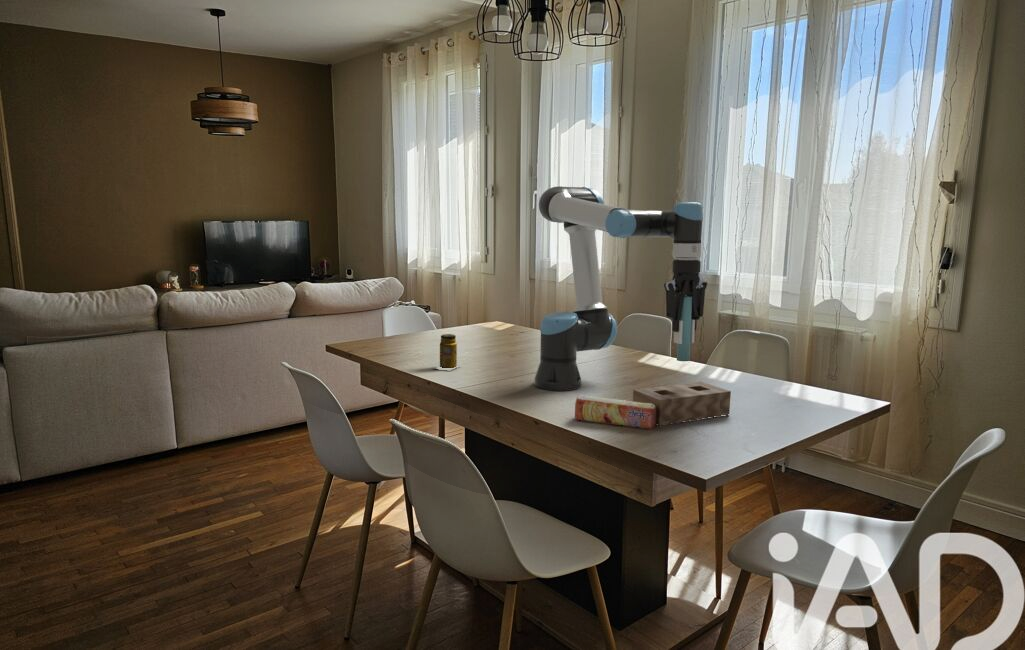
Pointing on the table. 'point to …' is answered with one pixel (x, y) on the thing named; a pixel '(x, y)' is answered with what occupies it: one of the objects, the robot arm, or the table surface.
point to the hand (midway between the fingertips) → (683, 342)
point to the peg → (685, 331)
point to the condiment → (448, 351)
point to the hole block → (685, 401)
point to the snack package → (615, 412)
